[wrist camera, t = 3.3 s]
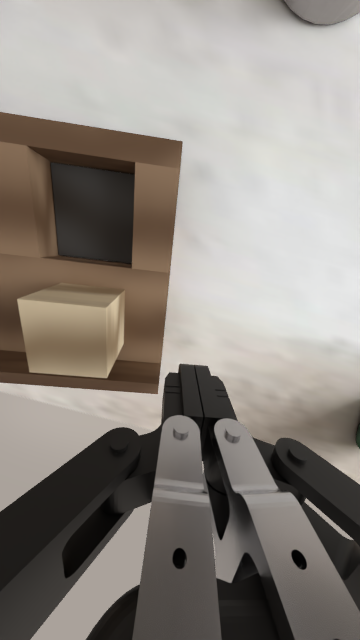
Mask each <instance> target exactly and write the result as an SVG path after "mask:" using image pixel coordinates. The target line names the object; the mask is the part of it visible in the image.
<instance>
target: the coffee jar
mask: <svg viewBox="0 0 360 640" xmlns="http://www.w3.org/2000/svg"><path fill="white" fill-rule="evenodd" d="M356 443H357V445H358V447H359V449H360V424H359V426H358V430H357V436H356Z"/></svg>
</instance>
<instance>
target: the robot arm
mask: <svg viewBox="0 0 360 640" xmlns="http://www.w3.org/2000/svg"><path fill="white" fill-rule="evenodd" d="M284 1H285V3H286V4H287V5H288V7H289V8H290V9H291V10H292V11H293V12H295V13H296V14H297V15H298V16H299V17H301V18H302V19H304V20H307V21H309V22H312V23H314V24H327V25H330V24H334V23H338V22H342V21H345V20H347V19H349V18H351V17H353V16H354V15H356V14H358V13H360V0H284ZM202 461H203V464H204V473H203V472H202ZM306 498H307V499H308V500H309V501H310V502H312V503H313V504H314V505H315V506H316V507H317V508H319V509H320V510H321V511H322V512H323V513H324V514H325V515H326V516H328V517H329V518H330V519H331V520H332V521H333V522H334V523H336V524H337V525H338V526H339V527H340V528H341V529H342V530H344V531H345V532H346V533H347V534H348V535H349V536H350V537H352V538H353V539H354V540H349V539H347V538H345V537H343V536H342V535H341V534H339V533H338V532H337V531H336V530H335V529H334V528H333V527H332V526H331V525H329V524H328V523H327V522H326V521H325V520H324V519H323V518H322V517H320V516H319V515H318V514H317V513H316V512H315V511H314V510H312V508H310V507H309V506H308V505H307V504H306V503H305V502H304V501H305V499H306ZM150 502H152V503H151V510H150V518H149V524H148V531H147V538H146V545H145V552H144V560H143V566H142V573H141V581H140V585H138V586H136V587H134V588H132V589H131V590H129V591H128V592H126V593H125V594H124V595H123V596H122V597H120V598H119V599H118V600H117V601H116V602H115V603H114V604H113V605H112V606H111V607H110V608H109V609H108V610H107V611H106V612H105V614H104V615H103V616H102V617H101V619H100V620H99V621H98V623H97V624H96V625H95V627H94V628H93V629H92V631H91V633H90V634H89V636H88V637H87V639H86V640H360V485H359V484H358V483H357V482H355V481H354V480H352V479H351V478H350V477H348V476H347V475H345V474H344V473H343V472H341V471H340V470H338V469H337V468H336V467H334V466H333V465H331V464H330V463H329V462H327V461H326V460H324V459H323V458H322V457H320V456H319V455H317V454H316V453H315V452H313V451H312V450H310V449H309V448H308V447H306V446H305V445H303V444H302V443H300V442H298V441H296V440H294V439H290V438H281V439H279V440H278V441H277V442H276V444H275V445H272V444H269V443H266V442H263V441H260V440H258V439H255V438H253V437H252V436H251V434H250V432H249V431H248V429H247V428H246V427H245V426H244V425H243V424H241V423H240V422H238V420H237V418H236V415H235V413H234V410H233V407H232V405H231V402H230V399H229V398H228V394H227V392H226V389H225V386H224V384H223V382H222V381H221V380H220V379H219V378H218V377H217V376H211V374H210V371H209V368H208V366H201V365H189V364H180V365H179V371H178V373H169V374H168V375H167V377H166V378H165V385H164V393H163V402H162V419H161V425H160V426H159V427H158V428H157V429H156V430H155V431H153V432H151V433H148V434H144V435H140V436H139V435H138V434H137V433H136V432H135V431H134V430H132V429H130V428H124V427H122V428H116V429H112V430H110V431H109V432H107V433H106V434H104V435H103V436H102V437H100V438H99V439H97V440H96V441H95V442H93V443H92V444H91V445H90V446H88V447H87V448H85V449H84V450H83V451H82V452H80V453H79V454H77V455H76V456H75V457H73V458H72V459H71V460H69V461H68V462H67V463H65V464H64V465H63V466H61V467H60V468H59V469H57V470H56V471H55V472H53V473H52V474H50V475H49V476H48V477H47V478H45V479H44V480H42V481H41V482H40V483H38V484H37V485H36V486H34V487H33V488H32V489H30V490H29V491H28V492H26V493H25V494H24V495H22V496H21V497H20V498H18V499H17V500H16V501H14V502H13V503H12V504H10V505H9V506H8V507H6V508H5V509H4V510H2V511H1V512H0V640H30V639H31V638H32V637H33V635H34V634H35V633H36V632H37V630H38V629H39V628H40V626H41V625H42V624H43V623H44V622H45V620H46V619H47V618H48V617H49V615H50V614H51V613H52V612H53V610H54V609H55V608H56V607H57V606H58V604H59V603H60V602H61V601H62V599H63V598H64V597H65V596H66V594H67V593H68V592H69V591H70V589H71V588H72V587H73V585H74V584H75V583H76V582H77V581H78V579H79V578H80V577H81V576H82V574H83V573H84V572H85V570H86V569H87V568H88V567H89V566H90V564H91V563H92V562H93V561H94V559H95V558H96V557H97V555H98V554H99V553H100V552H101V551H102V549H103V548H104V547H105V546H106V544H107V543H108V542H109V540H110V539H111V538H112V537H113V536H114V534H115V533H116V532H117V531H118V529H119V528H120V527H121V525H122V524H123V523H124V522H125V521H126V519H127V518H128V517H129V516H130V514H131V513H132V512H133V510H134V509H135V508H137V507H140V506H142V505H145V504H147V503H150ZM212 533H213V536H212ZM213 538H214V544H215V555H216V556H215V559H214V548H213ZM215 568H216V570H215Z"/></svg>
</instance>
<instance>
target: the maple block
mask: <svg viewBox="0 0 360 640" xmlns="http://www.w3.org/2000/svg"><path fill="white" fill-rule="evenodd" d="M17 302H18V308H19V314H20V319H21V325H22V331H23V337H24V343H25V349H26V355H27V360H28V366H29V372H32V373H45V374H58V375H71V376H84V377H97V378H107V377H108V375H109V373H110V371H111V369H112V367H113V365H114V363H115V361H116V358H117V356H118V354H119V352H120V350H121V348H122V346H123V344H124V310H125V290H124V289H115V288H106V287H96V286H87V285H78V284H69V283H60V284H57V285H54V286H52V287H49V288H46V289H43V290H40V291H38V292H35V293H32V294H29V295H27V296H24V297H21V298H18V299H17Z"/></svg>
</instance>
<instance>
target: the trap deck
mask: <svg viewBox="0 0 360 640" xmlns="http://www.w3.org/2000/svg"><path fill="white" fill-rule="evenodd" d="M181 153H182V141H176V140H170V139H164V138H158V137H151V136H145V135H139V134H133V133H127V132H120V131H114V130H108V129H102V128H96V127H89V126H83V125H77V124H71V123H65V122H58V121H52V120H46V119H40V118H34V117H27V116H21V115H15V114H9V113H3V112H0V382H1V383H14V384H28V385H42V386H55V387H69V388H82V389H96V390H109V391H123V392H137V393H150V394H158V385H159V376H160V366H161V357H162V347H163V337H164V326H165V316H166V306H167V296H168V286H169V276H170V266H171V255H172V245H173V235H174V225H175V215H176V205H177V195H178V184H179V174H180V164H181ZM78 166H79V167H78ZM105 170H106V171H105ZM112 171H113V172H112ZM60 255H65V256H60ZM68 256H74V257H68ZM77 257H82V258H77ZM85 258H91V259H85ZM94 259H99V260H94ZM102 260H108V261H102ZM111 261H116V262H111ZM120 262H125V263H120ZM128 263H132V264H128ZM60 283H69V284H78V285H87V286H96V287H106V288H115V289H124V290H125V310H124V344H123V346H122V348H121V350H120V352H119V354H118V356H117V358H116V361H115V363H114V365H113V367H112V369H111V371H110V373H109V375H108V377H107V378H97V377H84V376H71V375H58V374H45V373H32V372H29V366H28V360H27V355H26V349H25V343H24V337H23V331H22V325H21V319H20V314H19V308H18V302H17V299H18V298H21V297H24V296H27V295H29V294H32V293H35V292H38V291H40V290H43V289H46V288H49V287H52V286H54V285H57V284H60Z"/></svg>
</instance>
